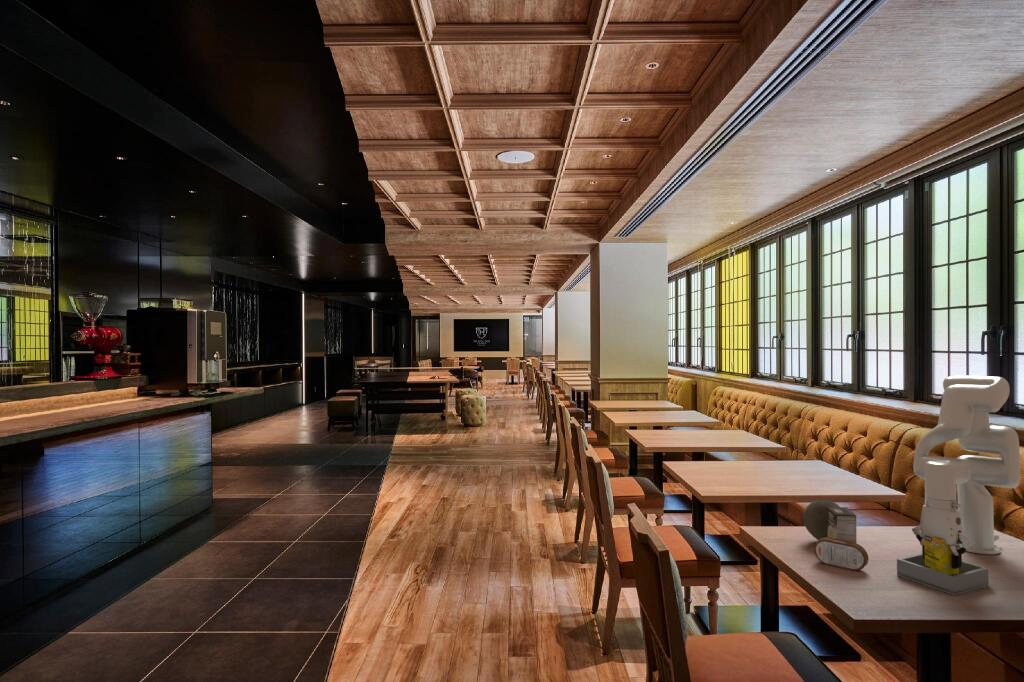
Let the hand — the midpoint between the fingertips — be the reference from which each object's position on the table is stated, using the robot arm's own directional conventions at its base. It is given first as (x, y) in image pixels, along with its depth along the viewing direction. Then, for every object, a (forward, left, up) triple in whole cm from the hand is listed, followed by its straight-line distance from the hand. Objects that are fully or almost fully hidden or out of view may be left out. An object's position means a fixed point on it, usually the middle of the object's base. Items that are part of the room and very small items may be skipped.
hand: (941, 562), depth 174 cm
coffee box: (+11, -24, -5) cm, 27 cm away
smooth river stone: (+2, -37, -5) cm, 37 cm away
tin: (+17, -20, -5) cm, 27 cm away
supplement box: (0, 0, -3) cm, 3 cm away
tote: (0, 0, -5) cm, 5 cm away
